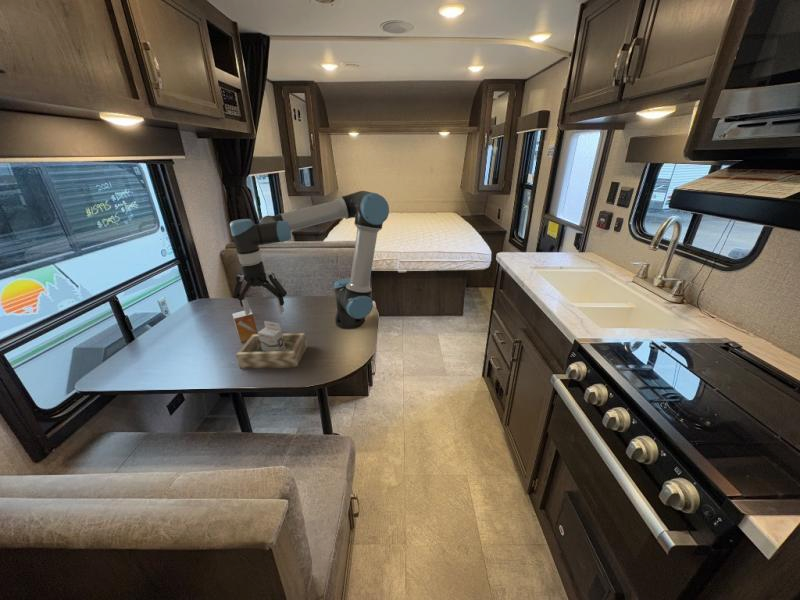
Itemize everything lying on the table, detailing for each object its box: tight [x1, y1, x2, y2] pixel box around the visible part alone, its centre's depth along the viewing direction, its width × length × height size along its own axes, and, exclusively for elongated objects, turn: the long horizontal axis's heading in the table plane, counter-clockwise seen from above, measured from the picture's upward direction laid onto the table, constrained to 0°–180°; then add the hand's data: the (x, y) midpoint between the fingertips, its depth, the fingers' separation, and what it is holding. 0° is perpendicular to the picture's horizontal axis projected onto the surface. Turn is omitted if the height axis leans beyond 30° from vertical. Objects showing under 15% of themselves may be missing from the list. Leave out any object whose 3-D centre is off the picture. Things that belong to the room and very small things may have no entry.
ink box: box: [257, 320, 286, 352], centre depth 128 cm, size 9×5×15 cm, turn 72°
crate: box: [235, 332, 308, 370], centre depth 130 cm, size 23×15×7 cm, turn 90°
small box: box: [232, 308, 259, 344], centre depth 144 cm, size 8×6×13 cm
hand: (265, 313), depth 122 cm, fingers open, 13 cm apart
